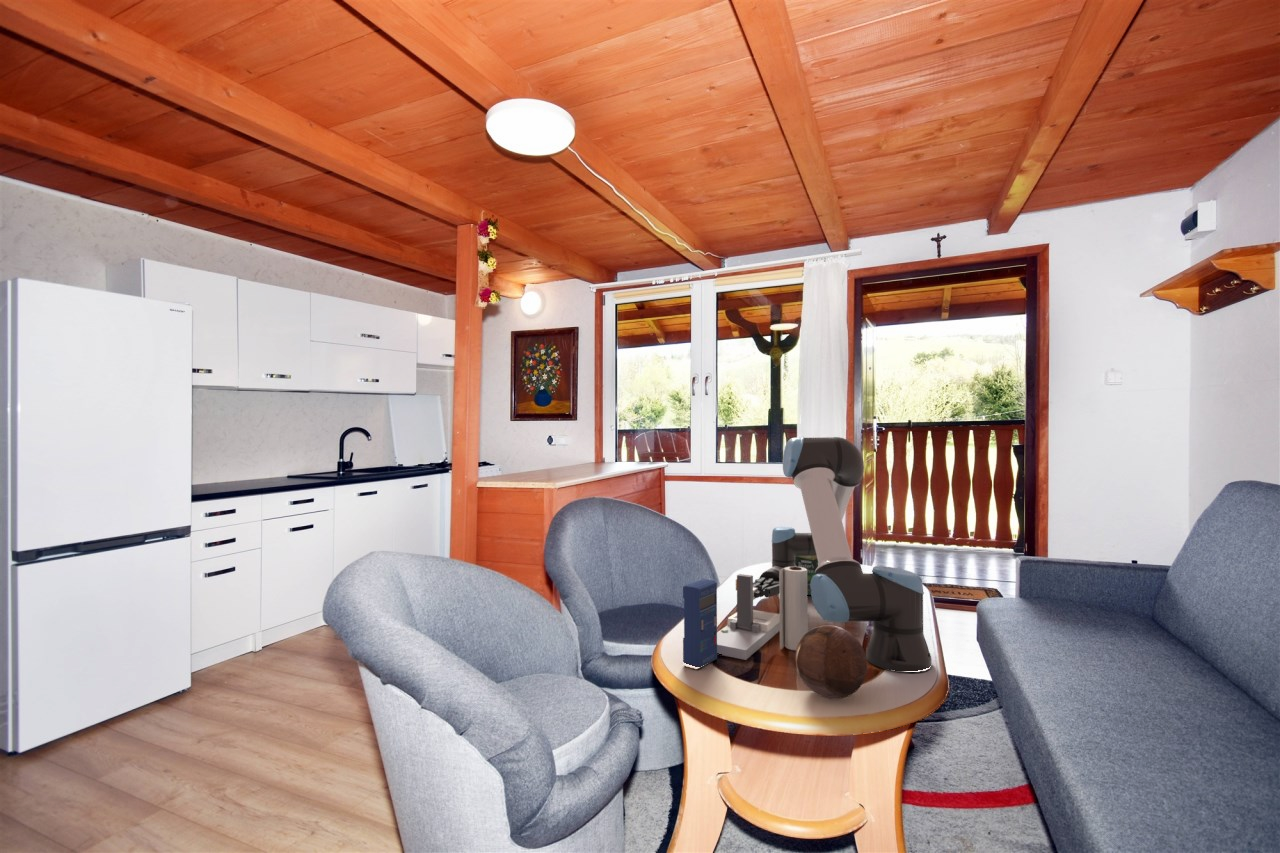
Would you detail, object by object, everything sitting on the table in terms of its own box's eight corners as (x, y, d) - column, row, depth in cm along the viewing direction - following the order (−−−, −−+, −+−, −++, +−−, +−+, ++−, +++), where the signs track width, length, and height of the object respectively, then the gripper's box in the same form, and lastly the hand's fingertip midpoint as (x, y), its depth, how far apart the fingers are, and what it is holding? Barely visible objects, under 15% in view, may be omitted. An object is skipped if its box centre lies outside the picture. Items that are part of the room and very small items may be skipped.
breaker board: (742, 622, 182) (742, 608, 183) (781, 629, 176) (780, 614, 176) (703, 651, 158) (703, 634, 158) (746, 660, 152) (745, 642, 152)
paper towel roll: (807, 644, 163) (807, 566, 163) (807, 652, 157) (807, 571, 158) (780, 642, 165) (780, 564, 165) (779, 649, 159) (779, 569, 160)
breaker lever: (738, 626, 170) (738, 573, 170) (754, 629, 168) (753, 575, 168) (735, 628, 168) (735, 575, 169) (751, 630, 166) (751, 577, 166)
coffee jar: (790, 594, 215) (790, 543, 216) (795, 589, 223) (794, 539, 223) (818, 597, 211) (818, 545, 212) (822, 592, 218) (821, 541, 219)
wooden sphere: (873, 690, 133) (872, 623, 134) (860, 717, 121) (859, 642, 121) (805, 676, 141) (805, 613, 141) (787, 700, 128) (786, 630, 128)
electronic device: (699, 671, 145) (699, 588, 145) (681, 666, 148) (681, 585, 148) (718, 659, 152) (718, 581, 153) (701, 655, 155) (701, 578, 156)
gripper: (794, 595, 188) (769, 613, 167) (754, 589, 194) (726, 607, 174) (794, 571, 188) (769, 586, 168) (754, 566, 195) (725, 581, 174)
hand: (747, 597), depth 171 cm, fingers closed
